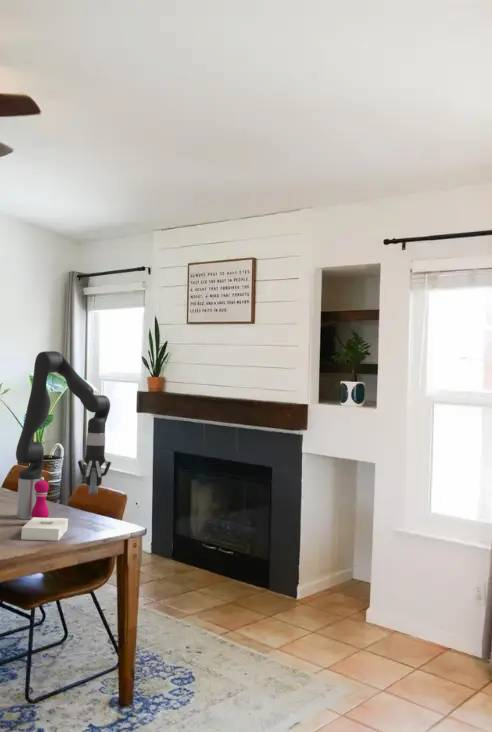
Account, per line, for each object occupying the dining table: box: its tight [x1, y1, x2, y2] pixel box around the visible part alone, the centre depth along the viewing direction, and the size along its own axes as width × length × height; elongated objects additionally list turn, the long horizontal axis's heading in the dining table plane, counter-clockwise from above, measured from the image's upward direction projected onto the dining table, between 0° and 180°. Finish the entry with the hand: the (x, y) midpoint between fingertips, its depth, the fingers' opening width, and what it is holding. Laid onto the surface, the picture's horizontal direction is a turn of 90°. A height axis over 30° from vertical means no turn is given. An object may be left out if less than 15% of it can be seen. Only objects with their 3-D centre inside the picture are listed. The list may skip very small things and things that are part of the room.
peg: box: [88, 468, 99, 495], centre depth 294 cm, size 4×4×10 cm
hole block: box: [20, 517, 69, 542], centre depth 285 cm, size 20×14×4 cm
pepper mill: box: [31, 476, 50, 518], centre depth 303 cm, size 7×7×20 cm
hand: (93, 485), depth 294 cm, fingers closed on peg, 3 cm apart
